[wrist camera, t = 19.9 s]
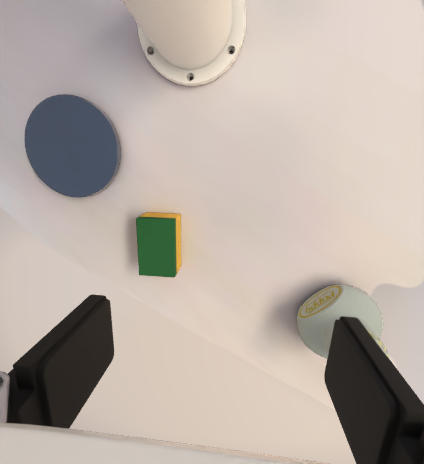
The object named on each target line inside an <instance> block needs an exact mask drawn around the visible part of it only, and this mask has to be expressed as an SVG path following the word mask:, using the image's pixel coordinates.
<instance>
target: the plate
mask: <svg viewBox="0 0 424 464" xmlns="http://www.w3.org/2000/svg"><path fill="white" fill-rule="evenodd" d="M25 147H26V152H27V156H28V159H29V161H30V163H31V166H32V167H33V169H34V171H35V172H36V174H37V175H38V176H39V178H40V179H41V180H42V181H43V182H44V183H45V184H46V185H47V186H49V187H50V188H52V189H53V190H55V191H56V192H58V193H61V194H63V195H66V196H70V197H86V196H91V195H94V194H97V193H99V192H101V191H102V190H104V189H105V188H106V187H107V186H108V185H109V184H110V183H111V182H112V181H113V179H114V177H115V176H116V174H117V171H118V169H119V165H120V158H121V149H120V142H119V138H118V135H117V132H116V130H115V128H114V126H113V124H112V122H111V121H110V119H109V118H108V116H107V115H106V114H105V113H104V112H103V111H102V110H101V109H100V108H99V107H98V106H96V105H95V104H93V103H92V102H90V101H88V100H86V99H83V98H81V97H78V96H74V95H66V94H63V95H56V96H52V97H49V98H47V99H45V100H44V101H42V102H41V103H40V104H39V105H37V106H36V108H35V109H34V110H33V111H32V113H31V115H30V117H29V119H28V121H27V125H26V130H25Z"/></svg>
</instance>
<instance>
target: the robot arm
mask: <svg viewBox="0 0 424 464" xmlns="http://www.w3.org/2000/svg"><path fill="white" fill-rule="evenodd" d="M121 1H122V3H123V4H124V5H125V7H126V8H127V9H128V11H129V12H130V14H131V15H132V16H133V18H134V19H135V20H136V22H137V28H138V36H139V39H140V43H141V46H142V49H143V51H144V53H145V55H146V57H147V59H148V60H149V61H150V63H151V64H152V66H153V67H154V68H155V69H156V70H157V71H158V72H159V73H160V74H161V75H162V76H164V77H165V78H166V79H168V80H170V81H172V82H174V83H176V84H180V85H183V86H199V85H204V84H207V83H210V82H212V81H214V80H215V79H217V78H219V77H220V76H222V75H223V74H224V73H225V72H226V71H227V70H228V69H229V68H230V66H231V65H232V64H233V62H234V61H235V60H236V58H237V56H238V54H239V52H240V50H241V47H242V44H243V40H244V36H245V29H246V9H245V1H244V0H121ZM230 51H233V52H234V53H233V54H230V53H229V52H230ZM152 52H154V53H153V55H151V53H152ZM190 77H193V80H192V81H190ZM113 356H114V344H113V332H112V321H111V308H110V301H109V300H108V299H106V297H105V296H102V295H90V296H89V297H88V298H86V299H85V300H84V301H83V302H82V303H81V304H80V305H79V306H78V307H76V308H75V309H74V310H73V311H72V312H71V313H70V314H69V315H68V316H67V317H65V318H64V319H63V320H62V321H61V322H60V323H59V324H58V325H57V326H55V327H54V328H53V329H52V330H51V331H50V332H49V333H48V334H47V335H46V336H44V337H43V338H42V339H41V340H40V341H39V342H38V343H37V344H36V345H35V346H33V347H32V348H31V349H30V350H29V351H28V352H27V353H26V354H25V355H24V356H23V357H21V358H20V359H19V360H18V361H17V362H16V363H15V364H14V365H13V368H14V369H13V370H11V371H10V372H9V373H8V374H7V373H5V372H1V371H0V464H328V463H321V462H314V461H307V460H300V459H293V458H286V457H279V456H272V455H265V454H258V453H251V452H243V451H236V450H229V449H221V448H214V447H206V446H199V445H192V444H184V443H177V442H169V441H162V440H154V439H147V438H139V437H130V436H123V435H115V434H107V433H99V432H92V431H84V430H76V429H69V428H70V426H71V425H72V423H73V421H74V420H75V418H76V417H77V415H78V413H79V412H80V410H81V409H82V407H83V406H84V404H85V403H86V401H87V399H88V398H89V396H90V395H91V393H92V392H93V390H94V388H95V387H96V385H97V384H98V382H99V380H100V379H101V377H102V376H103V374H104V372H105V371H106V369H107V368H108V366H109V364H110V363H111V361H112V359H113ZM325 384H326V386H327V389H328V392H329V394H330V397H331V399H332V402H333V405H334V407H335V410H336V412H337V415H338V417H339V420H340V423H341V425H342V428H343V430H344V433H345V435H346V438H347V441H348V443H349V446H350V448H351V451H352V453H353V456H354V458H355V461H356V464H424V404H423V403H422V402H421V401H420V399H419V398H418V397H417V395H416V394H415V393H414V391H413V390H412V389H411V387H410V386H409V385H408V384H407V382H406V381H405V379H404V378H403V377H402V376H401V374H400V373H399V371H398V370H397V369H396V367H395V366H394V365H393V364H392V362H391V361H390V360H389V358H388V357H387V356H386V354H385V353H384V352H383V350H382V349H381V348H380V347H379V345H378V344H377V343H376V341H375V340H374V339H373V337H372V336H371V335H370V333H369V332H368V331H367V329H366V328H365V327H364V325H363V324H362V323H361V321H360V320H359V319H358V318H356V317H346V316H341V317H340V318H339V320H337V319H336V320H335V322H334V327H333V333H332V338H331V343H330V348H329V354H328V359H327V364H326V369H325Z"/></svg>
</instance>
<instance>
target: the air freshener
mask: <svg viewBox="0 0 424 464" xmlns="http://www.w3.org/2000/svg"><path fill="white" fill-rule="evenodd" d="M341 316H346V317H356V318H358V319H359V320H360V321H361V323H362V324H363V325H364V327H365V328H366V329H367V331H368V332H369V333H370V335H371V336H372V337H373V339H374V340H375V341H376V343H377V344H378V345H379V347H380V348H381V349H382V350H383V352H384V353H385V354H386V356H387V357H388V352H387V349H386V348H385V346H384V345H383V343H382V342H381V341H380V339H379V338H380V336H381V333H382V329H383V318H382V314H381V311H380V309H379V307H378V305H377V303H376V302H375V301H374V300H373V299H372V298H371V297H370V296H369V295H368V294H367V293H365V292H364V291H362V290H360V289H358V288H355V287H352V286H348V285H338V284H337V285H331V286H328V287H326V288H324V289H322V290H320V291H318V292H317V293H315V294H314V295H312V296H311V297H310V298H309V299H307V300H306V301H305V302H304V303H303V305H302V306H301V307H300V309H299V311H298V314H297V328H298V332H299V335H300V337H301V339H302V340H303V342H304V343H305V344H306V346H307V347H308V348H309V349H311V350H312V351H313V352H314V353H316V354H318V355H320V356H322V357H325V358H327V359H328V354H329V348H330V343H331V338H332V333H333V327H334V322H335V320H336V319H337V320H339V318H340V317H341Z"/></svg>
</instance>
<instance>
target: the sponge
mask: <svg viewBox="0 0 424 464" xmlns="http://www.w3.org/2000/svg"><path fill="white" fill-rule="evenodd" d="M136 226H137V244H138V262H139V275H147V276H162V277H175V276H176V274H177V272H178V270H179V269H180V267H181V214H170V213H148V212H147V213H145V214H143V215H141V216H140V217H138V218H136Z"/></svg>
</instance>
